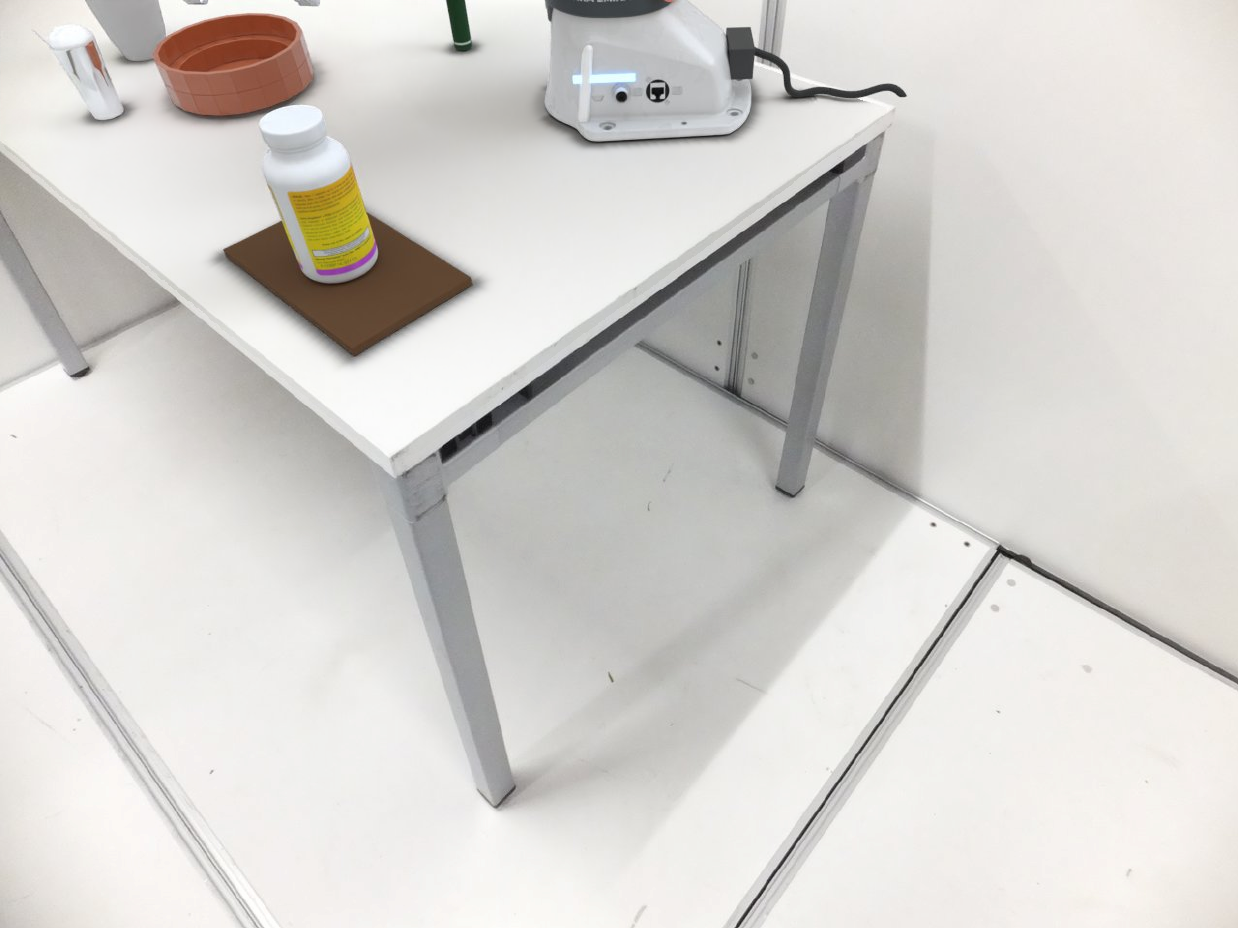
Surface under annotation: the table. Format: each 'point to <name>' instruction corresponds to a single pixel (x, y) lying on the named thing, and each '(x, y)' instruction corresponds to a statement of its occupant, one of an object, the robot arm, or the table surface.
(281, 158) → the supplement bottle
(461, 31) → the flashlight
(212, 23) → the bowl
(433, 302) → the mat
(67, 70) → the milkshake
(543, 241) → the table surface
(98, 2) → the cup
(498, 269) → the table surface
